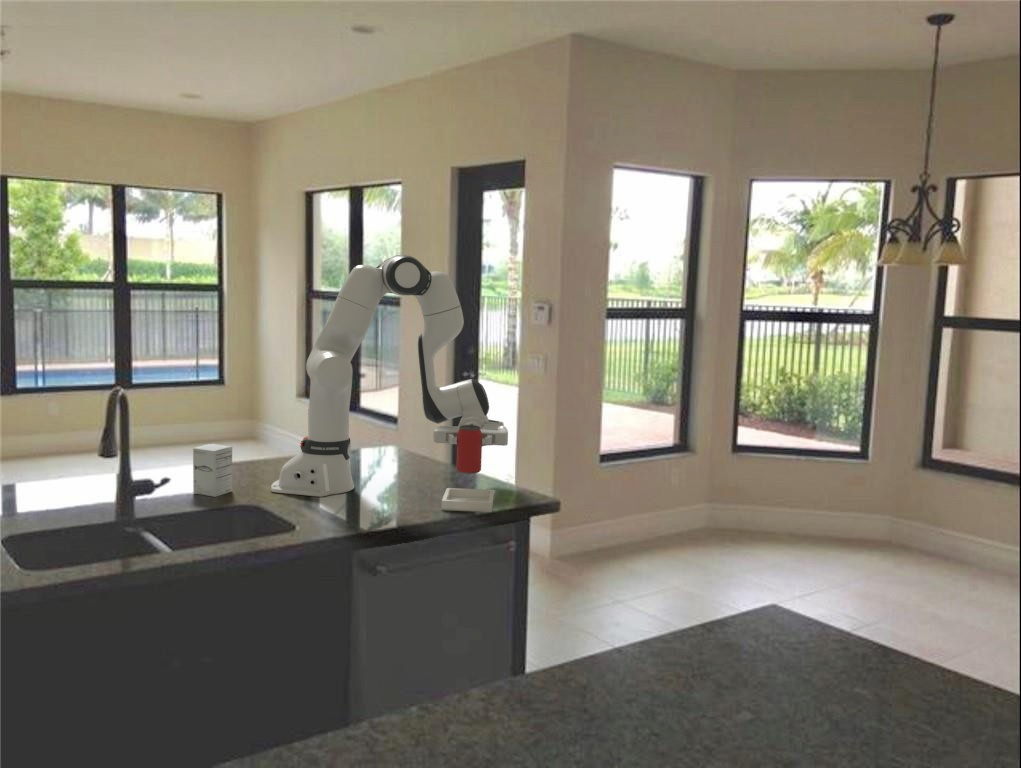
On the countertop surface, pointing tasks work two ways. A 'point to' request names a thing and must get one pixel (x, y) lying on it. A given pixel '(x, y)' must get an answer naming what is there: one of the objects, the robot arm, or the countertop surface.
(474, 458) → the beer can
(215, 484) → the supplement box
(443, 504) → the tray
